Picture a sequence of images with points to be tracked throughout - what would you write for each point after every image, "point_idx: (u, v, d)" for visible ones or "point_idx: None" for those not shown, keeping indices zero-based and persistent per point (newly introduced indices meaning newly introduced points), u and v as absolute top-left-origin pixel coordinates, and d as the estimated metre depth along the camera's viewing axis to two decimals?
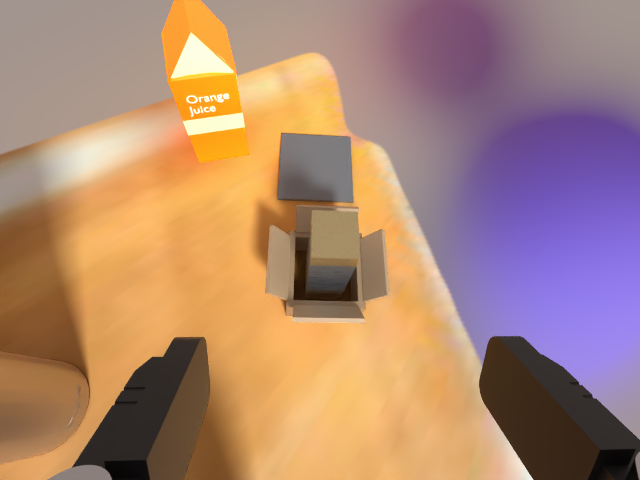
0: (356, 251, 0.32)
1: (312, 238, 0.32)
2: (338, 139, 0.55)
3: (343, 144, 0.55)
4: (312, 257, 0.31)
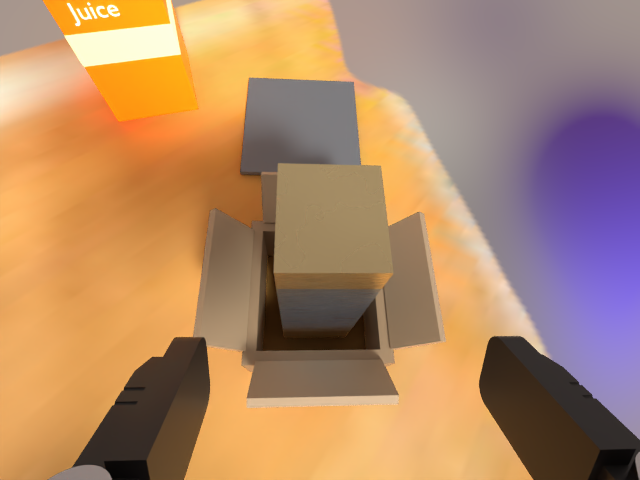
0: (384, 255, 0.13)
1: (277, 226, 0.14)
2: (335, 85, 0.36)
3: (344, 91, 0.36)
4: (276, 272, 0.13)
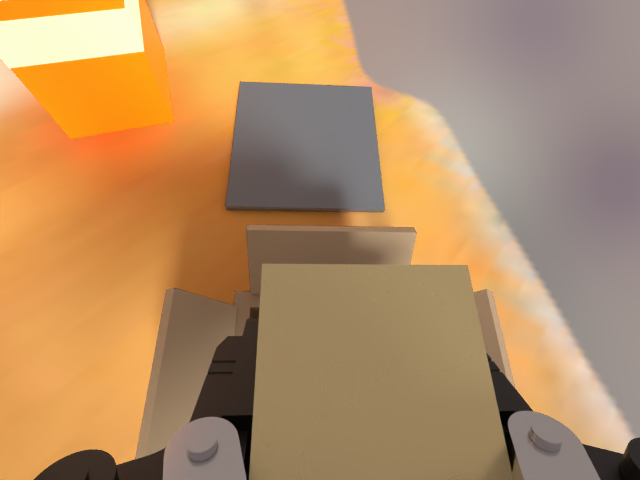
0: None
1: (257, 427, 0.06)
2: (348, 91, 0.29)
3: (359, 99, 0.28)
4: None
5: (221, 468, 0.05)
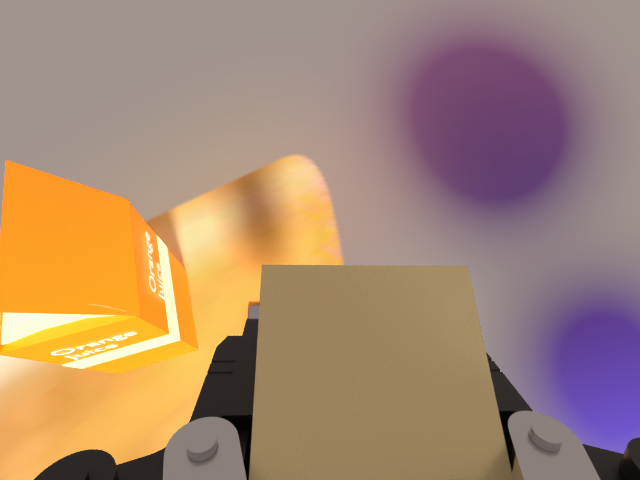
0: None
1: (257, 428, 0.06)
2: None
3: None
4: None
5: (221, 468, 0.05)
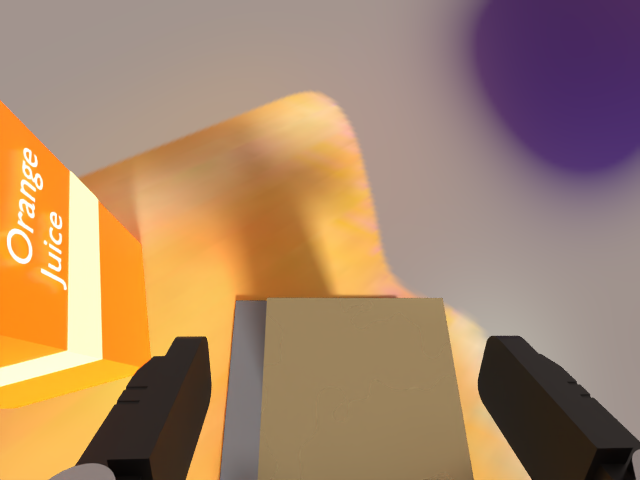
0: None
1: (264, 438, 0.07)
2: None
3: None
4: None
5: None
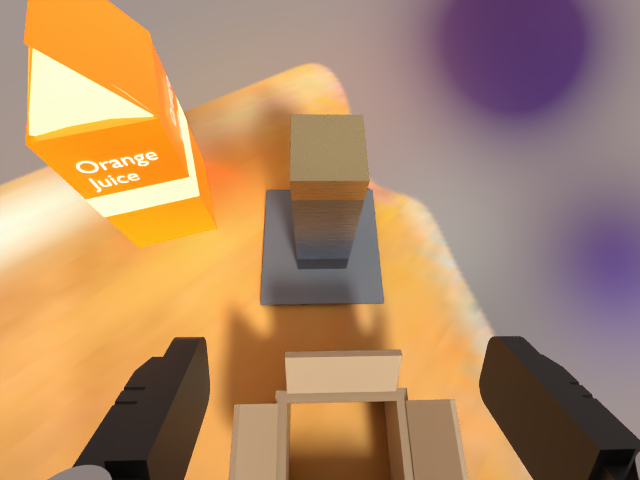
0: (363, 170, 0.20)
1: (292, 153, 0.20)
2: None
3: None
4: (291, 181, 0.19)
5: None
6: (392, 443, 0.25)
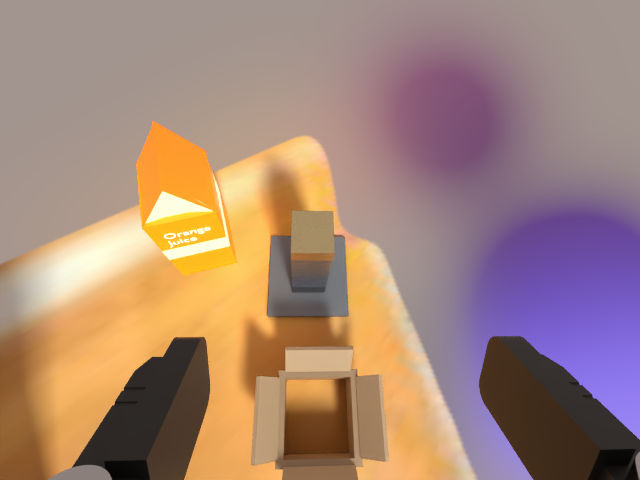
0: (331, 247, 0.36)
1: (292, 236, 0.36)
2: None
3: (337, 245, 0.51)
4: (292, 252, 0.35)
5: None
6: (348, 403, 0.41)
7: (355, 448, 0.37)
